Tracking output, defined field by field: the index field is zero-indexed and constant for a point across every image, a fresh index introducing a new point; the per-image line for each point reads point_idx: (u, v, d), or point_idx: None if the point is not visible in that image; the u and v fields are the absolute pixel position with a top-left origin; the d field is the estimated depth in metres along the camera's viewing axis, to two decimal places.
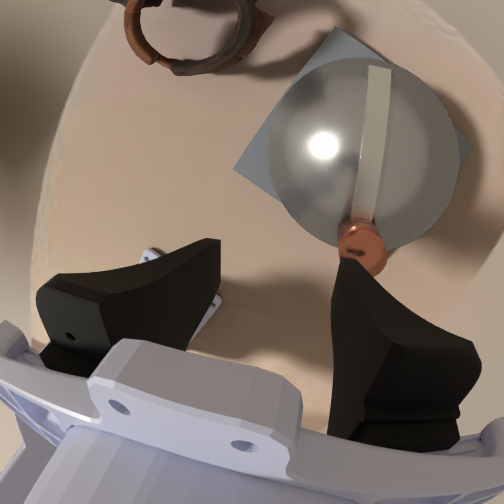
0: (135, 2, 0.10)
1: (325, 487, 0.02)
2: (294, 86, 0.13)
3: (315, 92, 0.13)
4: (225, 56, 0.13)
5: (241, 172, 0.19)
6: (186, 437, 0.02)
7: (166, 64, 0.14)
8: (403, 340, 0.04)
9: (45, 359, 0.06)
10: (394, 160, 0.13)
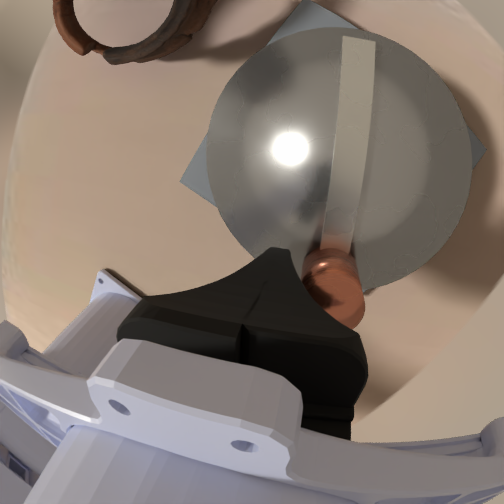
0: None
1: (325, 487, 0.02)
2: (239, 71, 0.09)
3: (268, 77, 0.09)
4: (164, 34, 0.09)
5: (189, 185, 0.15)
6: (186, 437, 0.02)
7: None
8: (256, 322, 0.05)
9: None
10: (381, 168, 0.10)
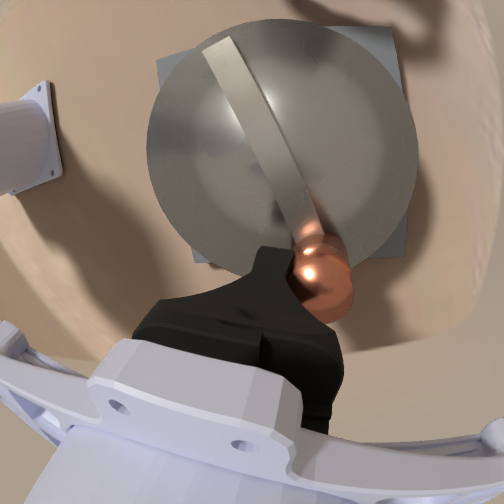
0: None
1: (325, 487, 0.02)
2: (149, 132, 0.11)
3: (170, 123, 0.11)
4: None
5: (159, 69, 0.12)
6: (186, 437, 0.02)
7: None
8: (230, 317, 0.05)
9: None
10: (306, 139, 0.10)
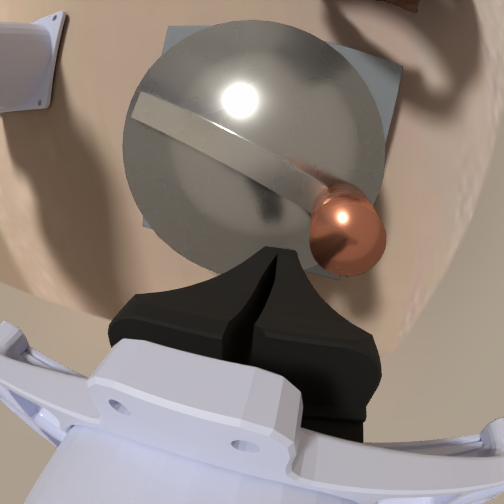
0: None
1: (325, 487, 0.02)
2: (138, 205, 0.13)
3: (149, 186, 0.12)
4: None
5: (168, 35, 0.12)
6: (186, 437, 0.02)
7: None
8: (271, 324, 0.05)
9: None
10: (254, 121, 0.10)
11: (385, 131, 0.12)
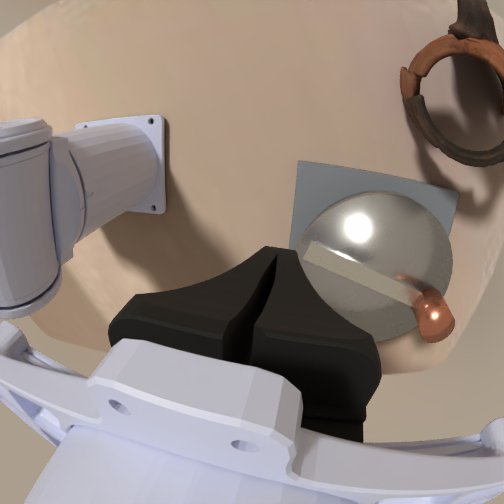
0: (481, 56, 0.08)
1: (325, 487, 0.02)
2: None
3: None
4: (445, 148, 0.13)
5: (299, 171, 0.18)
6: (186, 437, 0.02)
7: (413, 83, 0.12)
8: (271, 324, 0.05)
9: None
10: (386, 262, 0.17)
11: None
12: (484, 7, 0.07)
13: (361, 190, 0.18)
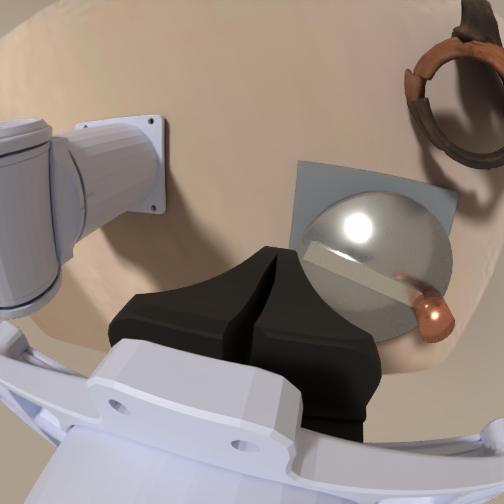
0: (486, 59, 0.08)
1: (325, 487, 0.02)
2: None
3: None
4: (450, 151, 0.13)
5: (299, 171, 0.18)
6: (186, 437, 0.02)
7: (418, 86, 0.12)
8: (271, 324, 0.05)
9: None
10: (386, 262, 0.17)
11: None
12: (488, 10, 0.07)
13: (361, 190, 0.18)
